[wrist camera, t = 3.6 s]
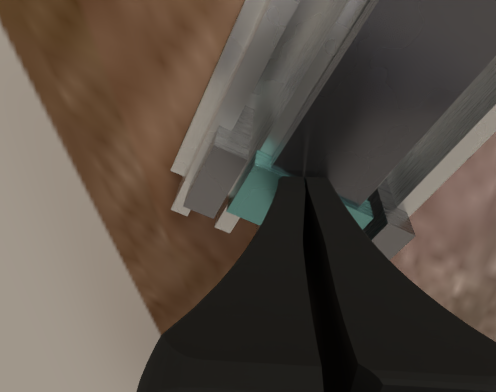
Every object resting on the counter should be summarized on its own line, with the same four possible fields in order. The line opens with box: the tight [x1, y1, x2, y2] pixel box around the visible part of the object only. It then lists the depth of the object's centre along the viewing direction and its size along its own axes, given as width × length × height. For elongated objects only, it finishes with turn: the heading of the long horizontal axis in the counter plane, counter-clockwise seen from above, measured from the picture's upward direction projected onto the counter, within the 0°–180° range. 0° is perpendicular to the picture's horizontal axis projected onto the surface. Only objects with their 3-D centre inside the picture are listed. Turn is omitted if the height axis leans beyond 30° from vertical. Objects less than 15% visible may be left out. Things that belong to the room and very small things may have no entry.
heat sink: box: [171, 0, 496, 260], centre depth 11 cm, size 13×8×5 cm, turn 154°
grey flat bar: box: [226, 0, 496, 230], centre depth 10 cm, size 11×4×1 cm, turn 154°
